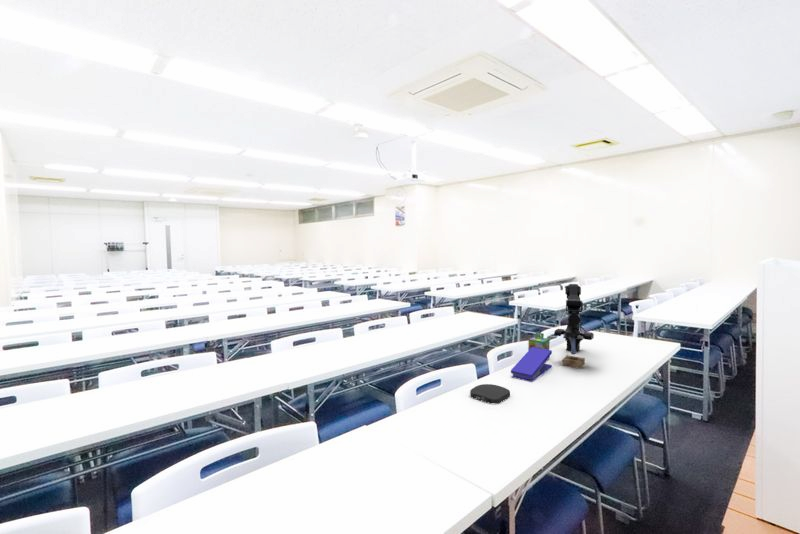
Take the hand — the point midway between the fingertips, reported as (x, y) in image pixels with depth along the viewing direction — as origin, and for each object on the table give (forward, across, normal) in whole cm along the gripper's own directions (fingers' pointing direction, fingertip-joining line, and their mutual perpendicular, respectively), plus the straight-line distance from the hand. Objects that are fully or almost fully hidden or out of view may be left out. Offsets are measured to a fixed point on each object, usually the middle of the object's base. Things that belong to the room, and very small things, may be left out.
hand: (573, 349), depth 209 cm
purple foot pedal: (+9, -14, -23) cm, 28 cm away
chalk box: (+9, -19, +1) cm, 21 cm away
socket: (+8, 0, 0) cm, 8 cm away
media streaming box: (+9, -18, -64) cm, 67 cm away
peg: (+2, 0, 0) cm, 2 cm away
